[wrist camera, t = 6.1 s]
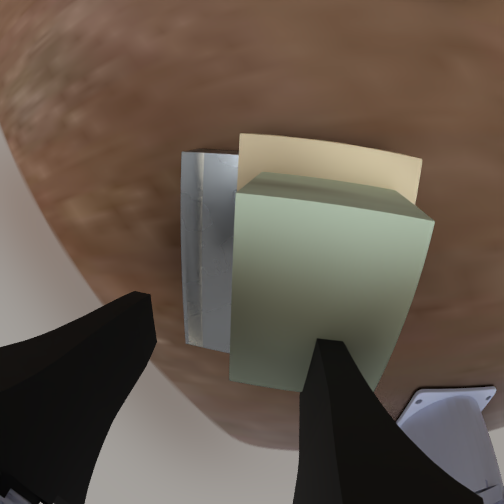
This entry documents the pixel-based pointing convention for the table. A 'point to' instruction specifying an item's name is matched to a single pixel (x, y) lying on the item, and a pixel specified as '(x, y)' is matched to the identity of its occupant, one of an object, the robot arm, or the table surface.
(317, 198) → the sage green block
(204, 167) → the dock
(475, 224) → the table surface
